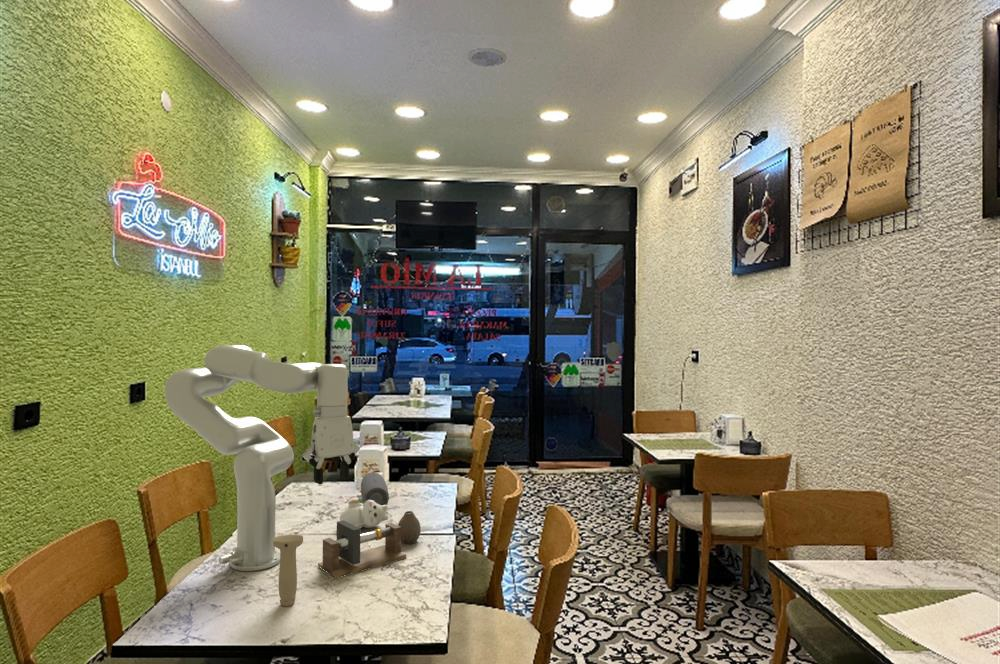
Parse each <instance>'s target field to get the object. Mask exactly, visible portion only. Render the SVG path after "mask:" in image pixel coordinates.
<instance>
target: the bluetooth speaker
mask: <svg viewBox="0 0 1000 664" xmlns="http://www.w3.org/2000/svg"><path fill="white" fill-rule="evenodd" d="M388 489H389V488H388V486H387V482H386V481H385V479H384V477H383V476H382V475H381V474H380V473H378V472H374V471H372V472H368V473H366V474H365V475H364V476H363V477H362V479H361V483H360V493H361V500H362V503H363V504H365V502H366V501H367V500H373V501H374V502H375V503H377V504H379V505H387V506H388V503H389V500H390V495H389V490H388Z"/></svg>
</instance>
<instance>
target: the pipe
mask: <svg viewBox="0 0 1000 664" xmlns="http://www.w3.org/2000/svg"><path fill="white" fill-rule="evenodd" d="M392 534H393V531H392V528H391V527H387V528H385V527H383V528H377V529H374V530H372V531H368V532H364V533H360V545H362V544H365V543H369V542H371V541H372V542H373V541H379V540H382V539H385V537H388V536H392ZM334 540H335V539H334ZM335 541H337V542H339V549H342V548H346V547H348V537H347V538H343V539H339V540H337V539H336V540H335Z"/></svg>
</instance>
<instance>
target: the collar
mask: <svg viewBox="0 0 1000 664" xmlns="http://www.w3.org/2000/svg"><path fill="white" fill-rule="evenodd" d="M360 534H361V528H358V527H356V526H354V525H352V524H350V523H348V522H346V521H344V520H342V521H340V520H338V521H336V540H339V539H343V538H347V537H348V547H346V548H342V549H339V557H340V558H342V559H344V560H346V561H347V562H349V563H351V564H352V565H355V564H358V563H360V552H361V544H360Z"/></svg>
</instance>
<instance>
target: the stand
mask: <svg viewBox="0 0 1000 664" xmlns="http://www.w3.org/2000/svg"><path fill="white" fill-rule="evenodd" d="M387 527H391V528H392V531H393V534H392V536H388V537H384V539H385V540H384V544H383V545H380V546H376V547H373V548H369V549H365V550H362V551H361V550H360V563H358V564H355V565H352V564H351V563H349V562H347V561H346V560H344V559H342V558H340V557H339V542H337V541H335V539H333V538H331V537H327V538H323V539H322V561H320V562H318V563H317V567H318V566H319V567H321V568H322V569H324V570H325V571H327V572H328V573H330V574H331V575H330V574H329V575H330V576H332V575H333V576H334V577H333V576H332V577H333V578H335V577H336V578H337V579H339V578H338V577H340V578H342V577H341V576H343V577H345V576H344V575H347V576H349V575H348V574H350V575H352V574H351V573H353V574H356V573H355V572H357V573H359V572H358V571H360V572H362V570H364V571H366V570H365V569H367V570H369V569H368V568H370V569H373V568H372V567H374V568H377V567H380V566H383V565H387V564H390V563H395V562H397V561H400V560H404V559H407V554H406V553H405V552H402V542H401V527H400V526H398V524H395V523H393V522H389V523H385V527H384V528H387ZM376 566H377V567H376ZM319 567H318V568H319ZM321 568H320V569H321ZM322 569H321V570H322ZM324 570H323V571H324ZM325 571H324V572H325ZM327 572H326V573H327ZM328 573H327V574H328ZM336 578H335V579H336Z"/></svg>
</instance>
